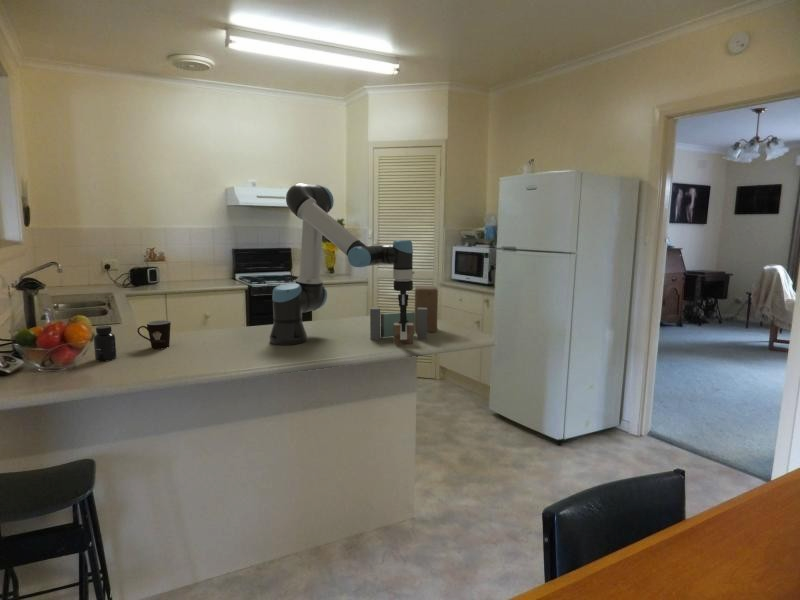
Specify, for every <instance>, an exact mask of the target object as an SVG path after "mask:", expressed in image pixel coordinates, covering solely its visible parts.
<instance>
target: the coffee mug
mask: <svg viewBox="0 0 800 600" xmlns="http://www.w3.org/2000/svg"><path fill="white" fill-rule="evenodd" d="M171 325H172V323H171V321H170V320H164V319H163V320H162V319H161V320H153V321H152V320H151V321H148V322H146V325H141V326H139V327H138V328H137V333H138V335H139V336H140V337H142V338H144V339H146V340H147V341H149V342H150V345H151V349H152V348H153V350H161V348H164V349H168V348H170V342H171ZM143 328H144V329H146V331H147V332H148V336H149V338H148V337H146V336H145V335H143V334H142V333H140V329H143ZM167 347H168V348H167Z"/></svg>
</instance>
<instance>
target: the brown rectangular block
mask: <svg viewBox="0 0 800 600" xmlns="http://www.w3.org/2000/svg"><path fill="white" fill-rule="evenodd" d="M393 345H414V335H413V323H407V340H400V324H398V323H394V336H393Z"/></svg>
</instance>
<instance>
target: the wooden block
mask: <svg viewBox="0 0 800 600" xmlns="http://www.w3.org/2000/svg"><path fill="white" fill-rule="evenodd" d="M438 292H439V291H438V289H437V286H436V285H435V286H434V285H425V286H424V285H417V286H415V287H414V312H415V333H417V319H418V308H427V334H429V333H430V334H432V333H435V334H436V333H437V332H438V296H439V295H438V294H439V293H438Z"/></svg>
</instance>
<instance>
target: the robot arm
mask: <svg viewBox="0 0 800 600" xmlns="http://www.w3.org/2000/svg"><path fill="white" fill-rule="evenodd" d="M334 201H335V199H334V196H333V194H332V192H331V190H330V189H329V188H328V187H326V186H324V185H320V184H309V183H297V184H294V185H292V186H291V187H289V188H288V190H287V192H286V195H285V203H286V205H287V207H288V209H289V210H290V212H291V213H293V214H294V215H295V216H296V217H297V218H298V219H299V220H301V221H302V229H301V247H300V248H301V249H300V265H299V266H300V267H299V276H298V277H297V278H296V279H295V283H286V284H280V285H277V286H275V287H274V288H273V289H272V296H271V297H272V298H271V300H272V313H273V314H272V316H273V324H272V328H271V331H270V335H269V343H271V344H273V345H277V346H279V345H280V346H290V345H292V346H293V345H299V344H302V343H306V342H307V341H308V334H307V331H306V329H305V326H304V323H303V313H307V312H311V311H316V310H318V309H321V308H322V307H323V306H324V305H325V304H326V302H327V300H328V291H327V289H326V286H324V284H323V283H324V281H323V280H322V278H321V275H320V274H321V261H322V260H321V259H322V247H323V246H322V245H323V237H325V239H326V240H328V241H330V243H332V245H333V246H335V247H337V249H339V250H340V251H341V252H342V253H343V254H344V255H346V257H347V260H348V263H349V264H350V265H351V266H352V267H354V268H365V267H369V266H377V265H392V266H393V269H392V270H393V271H392V273H393V275H392V276H393V290H394V291H397V292H400V293H399V294H398V295H397V299H398V307H399V313H400V322H398V324H400V340H407V322H408V320H407V313H406V312H407V307H408V305H409V304H408V302H409V301H408V300H409V294H408V293H407V291H412V290H413V289H414V281H413V278H414V274H415V271H413V261H414V259H413V257H414V255H413V254H414V249H413V242H412V240H411V239H396V240H393V242H392V245H391V244H390V245H389V244H369V245H366V244H365V243H363V242H362V241H361V240H360V239H359V238H358V237H356V235H354V234H352V233H351V232H350V230H348V229H346V228H345V227H344V225H342V224H340V222H339V221H337V220H336V219H335V218H334V217H333V216H331V215H330V214H328V213H329V212H331V210H332V209H333V207H334V204H335V203H334Z"/></svg>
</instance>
